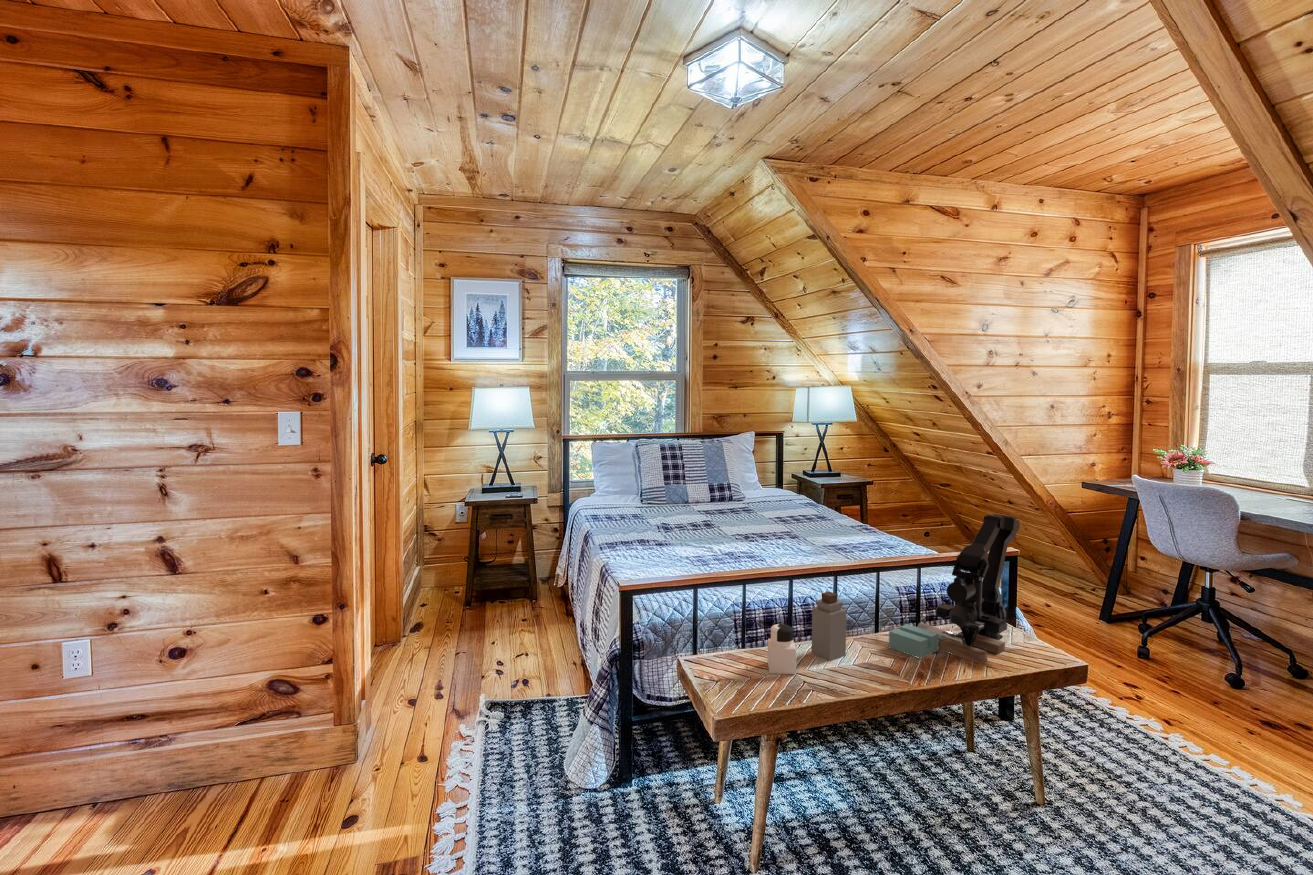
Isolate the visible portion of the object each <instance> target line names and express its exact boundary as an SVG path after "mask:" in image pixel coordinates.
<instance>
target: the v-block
mask: <svg viewBox="0 0 1313 875" xmlns="http://www.w3.org/2000/svg"><path fill="white" fill-rule="evenodd" d="M889 647H890V648H889ZM888 648H889V649H891V648H893V649H892V650H894V649H895V651H897V650H898V651H897V652H900V653H903V652H905V653H908V654H910V655H909V656H911V655H913V656H912V657H914V656H917V657H919V658H921V657H923V656H925V657H927V656H929V655H931V654H930V653H932V652H934V653H936V652H937V650H938V651H939V640H938V634H937V633H934V632H931V631H928V630H924V629H921V628H918V627H917V626H914V625H912V624H908V623H906V624H904V625H902V626H900V629H899V628H894V629H892V630H889V632H888ZM905 653H904V654H905ZM908 654H907V655H908ZM928 654H929V655H928ZM932 654H933V653H932ZM926 655H927V656H926ZM917 657H916V658H917ZM919 658H918V659H919ZM923 658H924V657H923ZM921 659H922V658H921Z"/></svg>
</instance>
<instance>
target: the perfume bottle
mask: <svg viewBox="0 0 1313 875" xmlns="http://www.w3.org/2000/svg"><path fill="white" fill-rule="evenodd" d="M838 595H839V594H838V593H835V592H832V591H830V590H829V591H824V592H822V593H821V598H819V599H817V600H815V601H816V602H815V603H816V605H817V606H815V607H812V609H811V610H812V612H811V614H812V615H811V616H812V617H811V654H812V655H815V656H817V657H819V658H821V659H823V660H826V661H828V662H831V661H834V660H837V659H840V658H842V657H846V652H847V650H846V646H847V645H846V644H847V609H844V608H842V607H843V605H844V604H843V603H844V601H841V600H838Z"/></svg>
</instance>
